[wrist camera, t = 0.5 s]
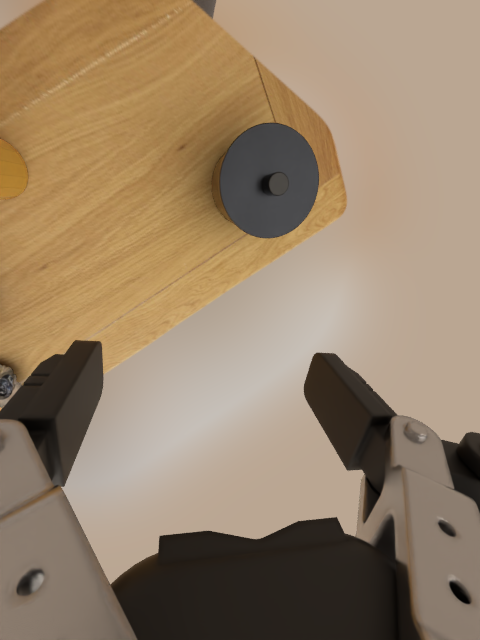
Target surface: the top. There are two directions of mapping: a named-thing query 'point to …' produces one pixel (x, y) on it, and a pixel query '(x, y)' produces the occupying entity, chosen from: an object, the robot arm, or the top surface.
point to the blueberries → (7, 384)
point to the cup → (11, 172)
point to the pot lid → (268, 180)
